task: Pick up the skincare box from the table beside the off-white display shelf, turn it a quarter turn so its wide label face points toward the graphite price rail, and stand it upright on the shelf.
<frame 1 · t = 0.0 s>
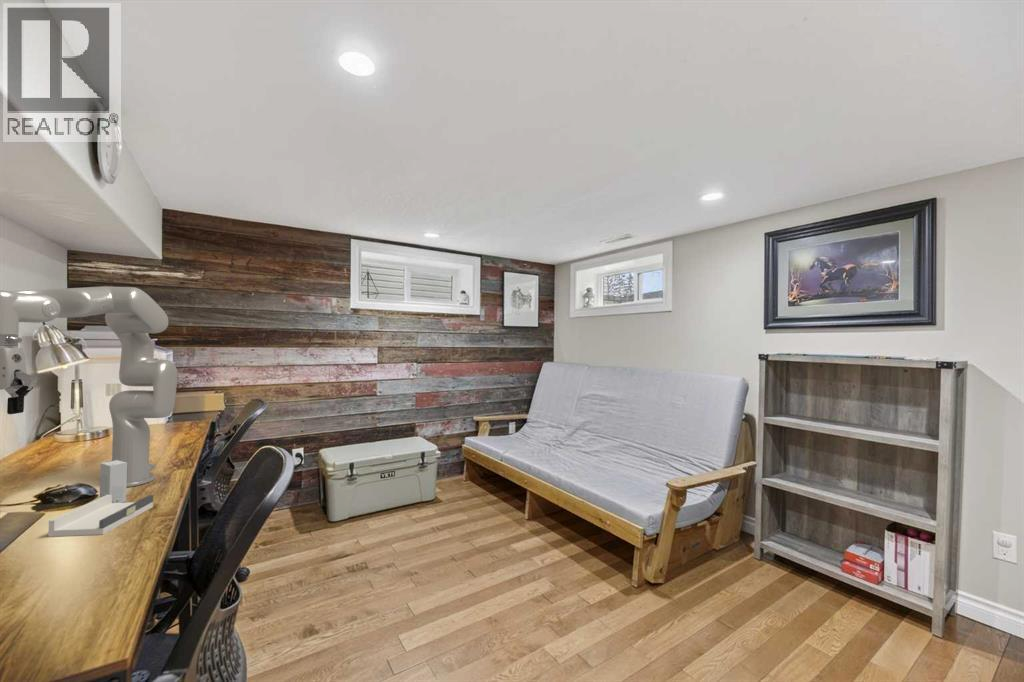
skincare box: (112, 503, 126), on the table
display shelf: (105, 520, 114), on the table
price rail: (128, 510, 114), point 2 cm above the table
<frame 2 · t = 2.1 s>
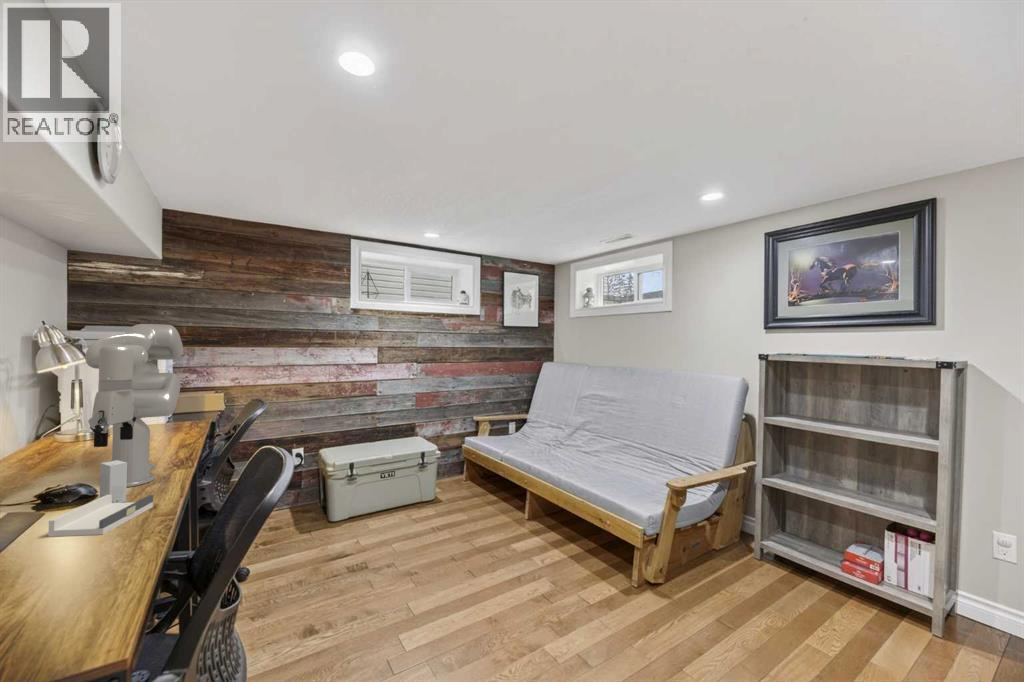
hand: (114, 442, 126), 18 cm above the table, fingers open, 9 cm apart
nothing on the table moved.
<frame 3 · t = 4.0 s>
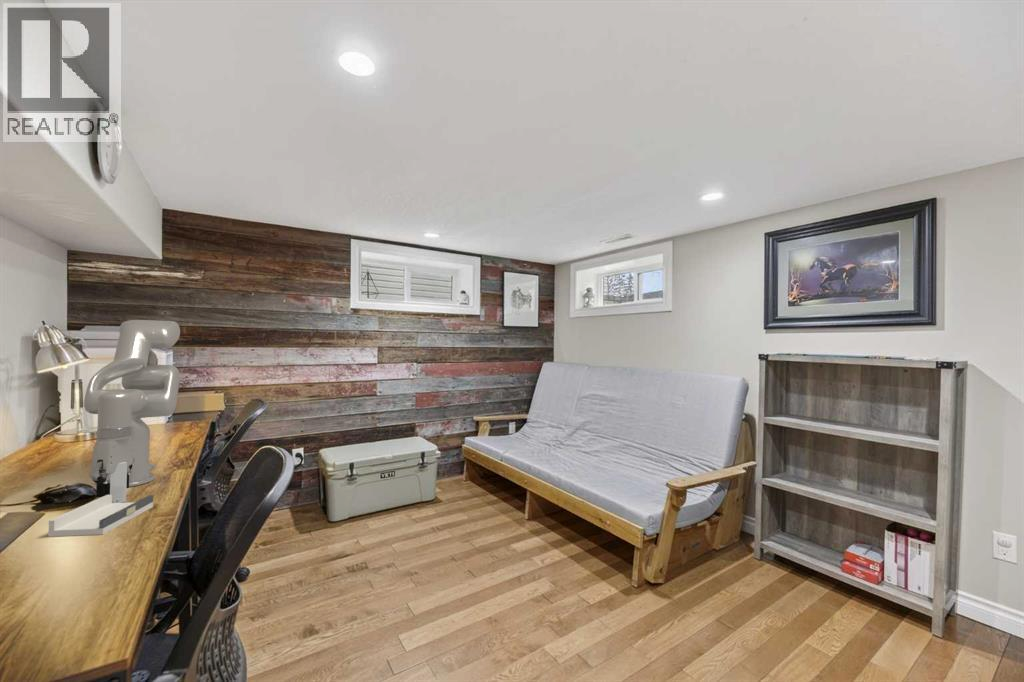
hand: (113, 491, 126), 3 cm above the table, fingers closed on skincare box, 6 cm apart
skincare box: (112, 503, 126), on the table, touching gripper
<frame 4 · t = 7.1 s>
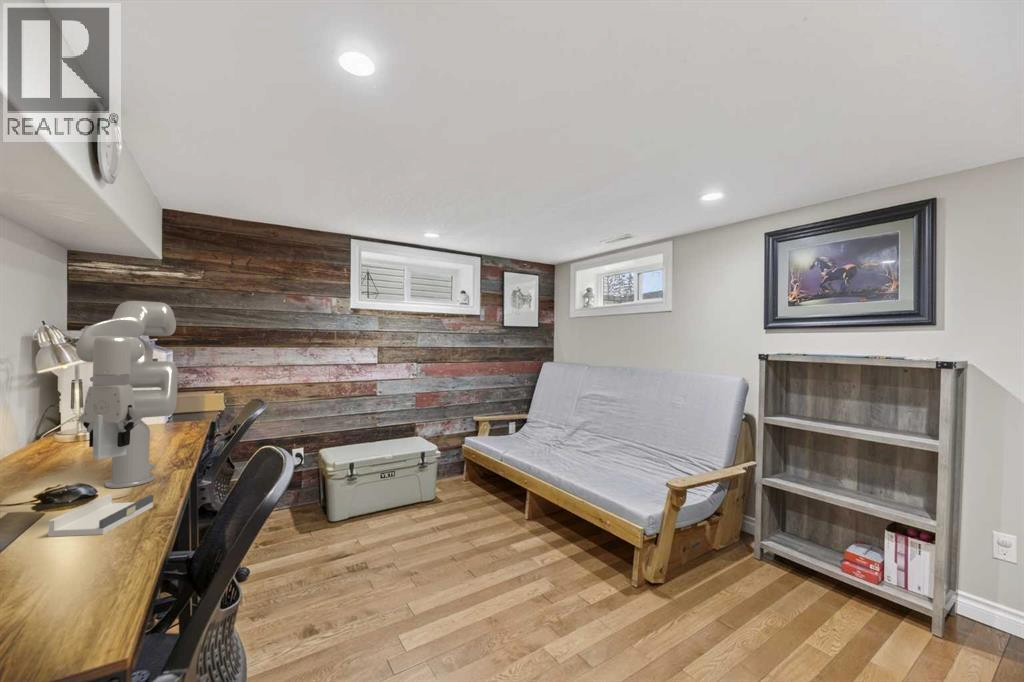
hand: (109, 445, 115), 20 cm above the table, fingers closed on skincare box, 6 cm apart
skincare box: (109, 457, 115), point 17 cm above the table, touching gripper
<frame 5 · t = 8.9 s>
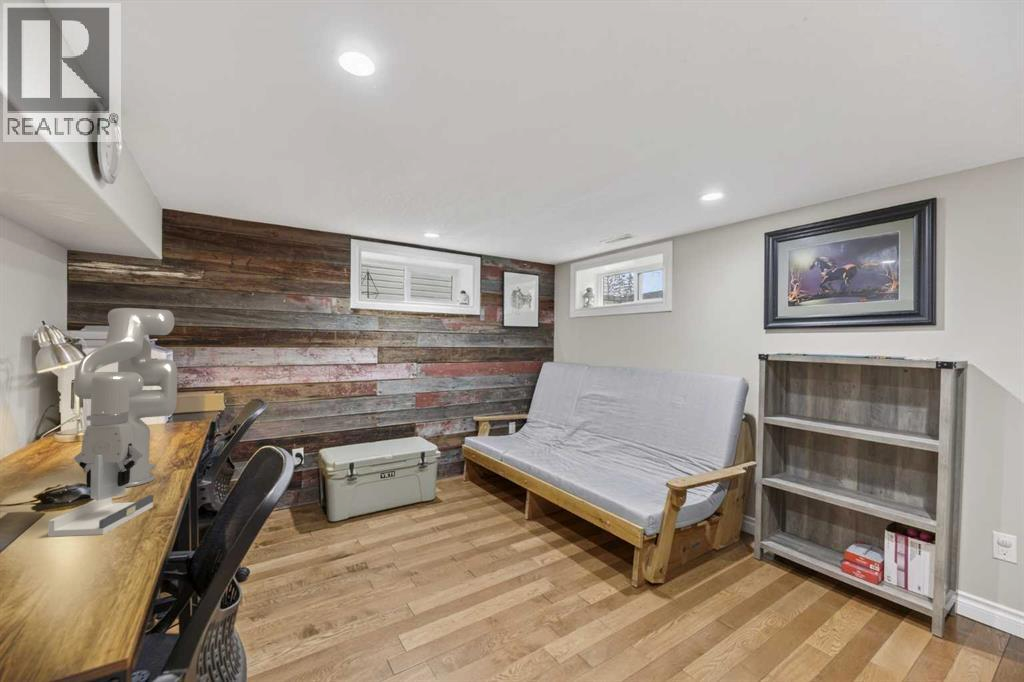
hand: (108, 484, 114), 10 cm above the table, fingers closed on skincare box, 6 cm apart
skincare box: (107, 496, 114), point 6 cm above the table, touching gripper
when the fingers open (5 cm above the table, at t = 10.3 s): skincare box stays where it is, resting on display shelf.
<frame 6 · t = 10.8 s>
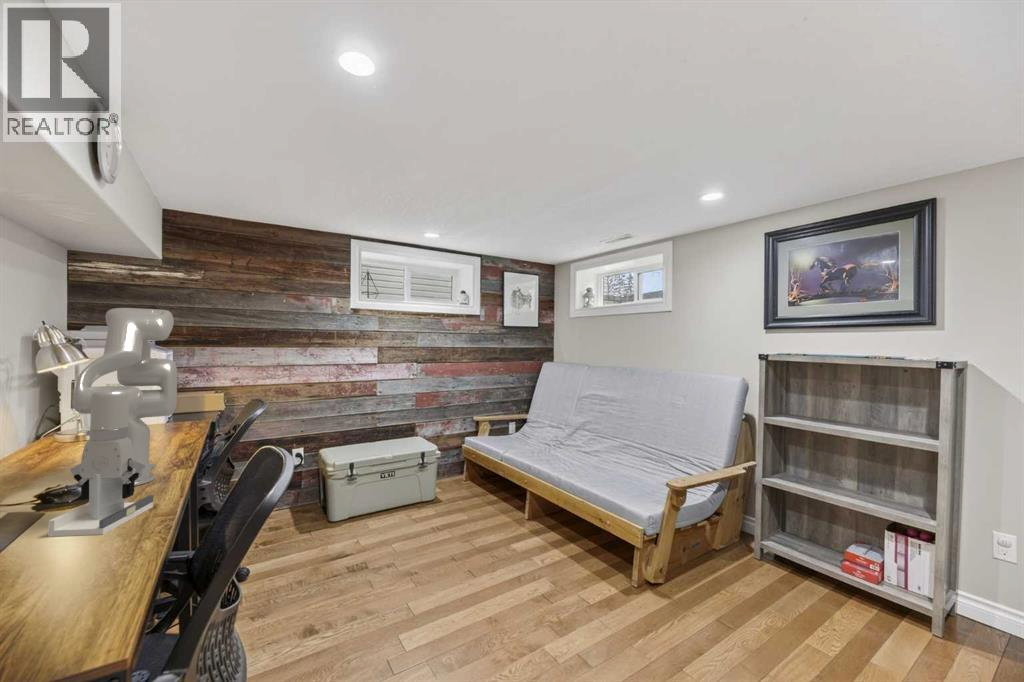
hand: (107, 497, 114), 6 cm above the table, fingers open, 9 cm apart
skincare box: (106, 515, 114), point 1 cm above the table, touching display shelf
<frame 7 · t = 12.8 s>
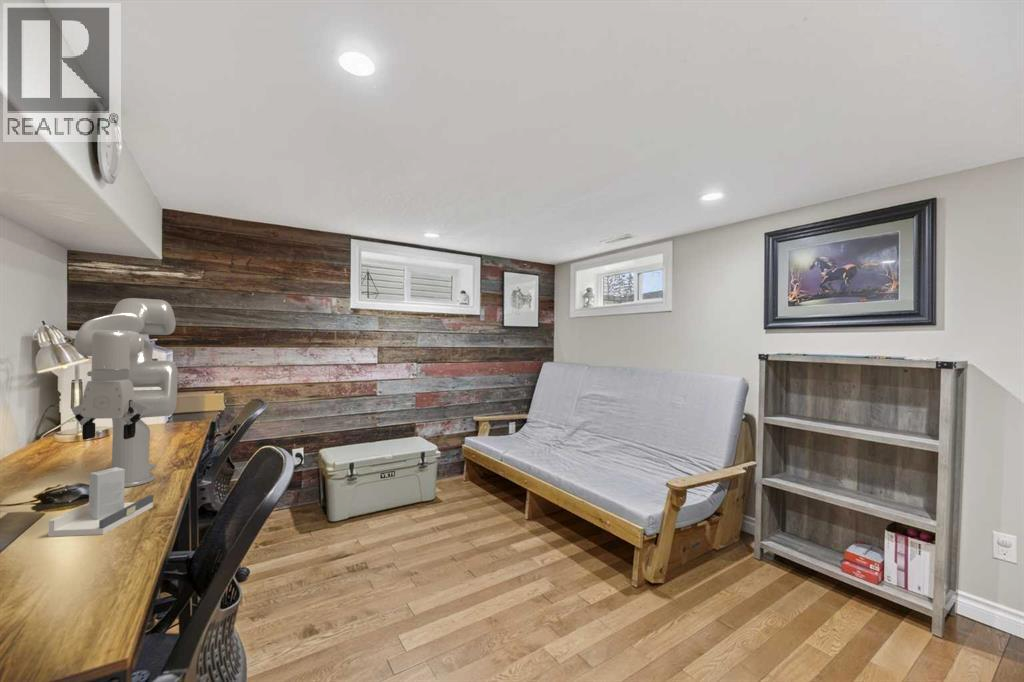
hand: (109, 438, 114), 22 cm above the table, fingers open, 9 cm apart
nothing on the table moved.
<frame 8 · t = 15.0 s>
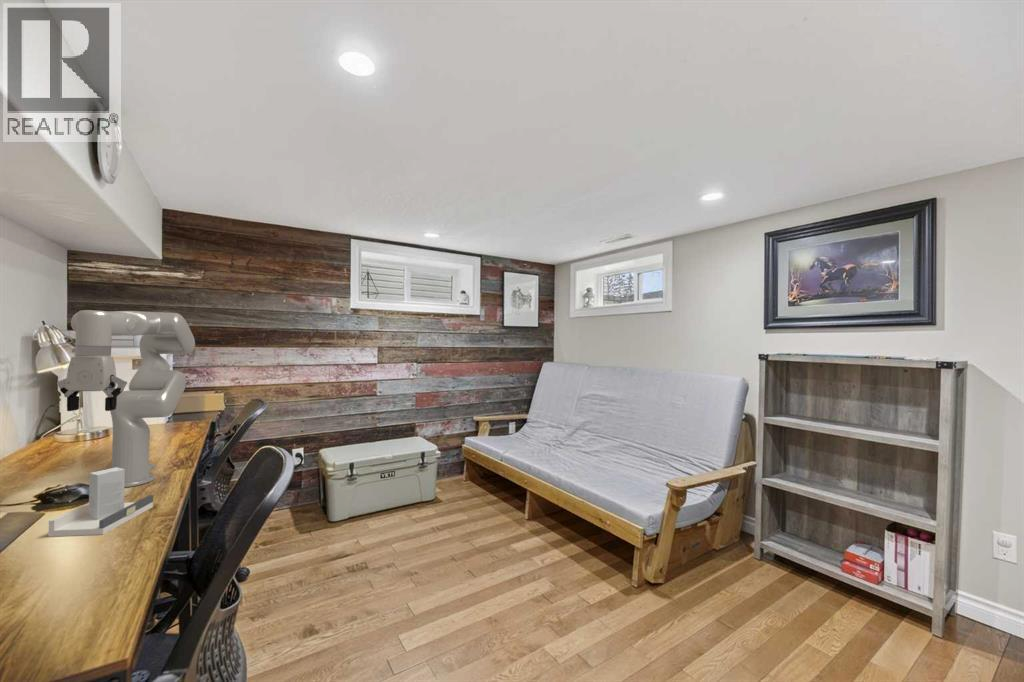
hand: (91, 410, 123), 28 cm above the table, fingers open, 9 cm apart
nothing on the table moved.
at the end: skincare box inside the target area on the display shelf (0.4 cm from its centre), point 1.3 cm above the display shelf's base; skincare box tilted 0°; the gripper is holding nothing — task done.
